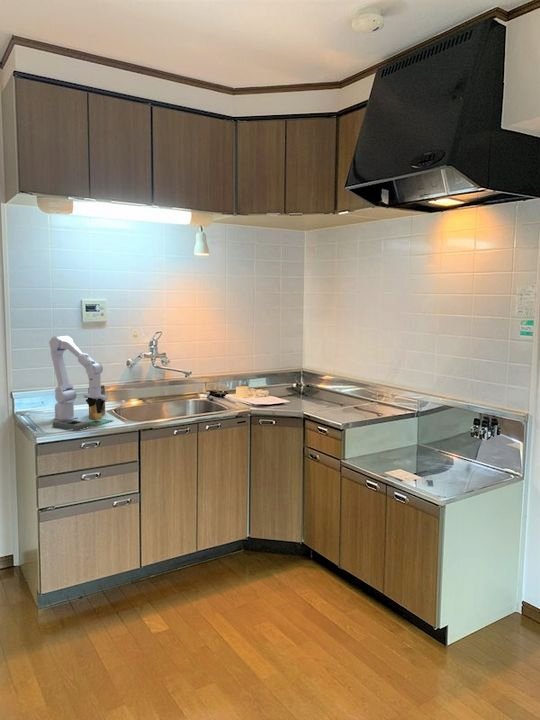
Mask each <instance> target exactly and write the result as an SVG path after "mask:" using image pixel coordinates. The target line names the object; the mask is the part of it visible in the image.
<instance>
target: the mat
mask: <svg viewBox="0 0 540 720" xmlns="http://www.w3.org/2000/svg"><path fill="white" fill-rule="evenodd" d="M82 421H83V422H90V426H91V425H92V427H99V426H98V425H100V426H103V425H106V424H110V423H113V422H114V420H113V419H106V418H102V419H100V420H96V421H95V420H90V419H87V420H82ZM112 421H113V422H112ZM109 422H110V423H109ZM102 424H103V425H102Z"/></svg>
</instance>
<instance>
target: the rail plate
mask: <svg viewBox="0 0 540 720" xmlns="http://www.w3.org/2000/svg"><path fill="white" fill-rule="evenodd" d="M83 421H84V420H76V419H71V420H70V419H62V420H56V421H52V428H57V429H63V430H68V429H73V430H72V431H74V430H79V431H81V430H80V429H83V428H86V429H88V428H87V427H89V428H91V425H90V422H83ZM83 430H84V429H83Z"/></svg>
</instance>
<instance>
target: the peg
mask: <svg viewBox="0 0 540 720" xmlns="http://www.w3.org/2000/svg"><path fill="white" fill-rule="evenodd" d="M102 417H103V416H102V415H101V413H99V414H98V413H97V407H96V405H93V406H90V417H89V420H95V421H96V420H100V419H103V418H102Z"/></svg>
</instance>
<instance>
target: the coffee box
mask: <svg viewBox="0 0 540 720" xmlns="http://www.w3.org/2000/svg"><path fill="white" fill-rule="evenodd" d="M87 388H88V390H87V392H88V393H87V394H89V387H87ZM105 392H106V391H105V385H102V384H101V395H104V396H106V393H105ZM96 400H98V399H96ZM95 405H96V403H95ZM101 415H102V417H103V416H105V415H106V401H105V402H104V404H103V407H102V411H101ZM88 417H89V418H90V408H89V407H88Z"/></svg>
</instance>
